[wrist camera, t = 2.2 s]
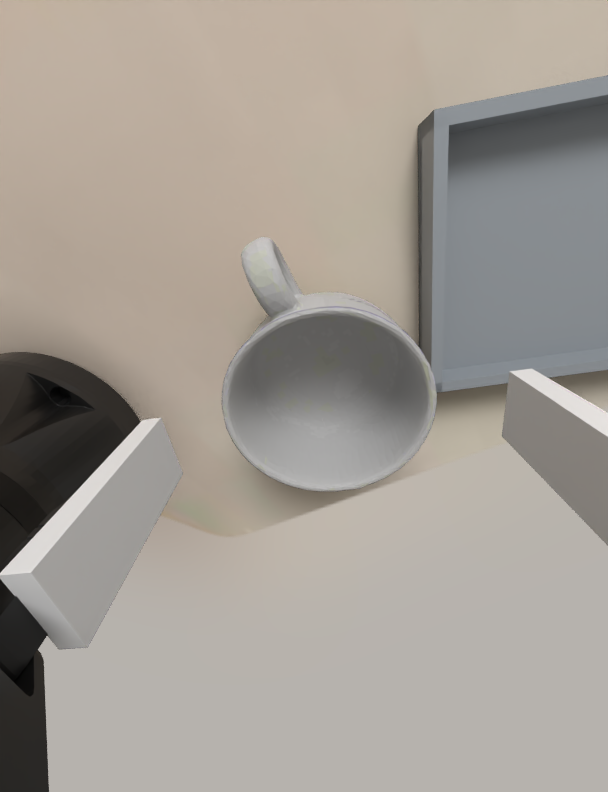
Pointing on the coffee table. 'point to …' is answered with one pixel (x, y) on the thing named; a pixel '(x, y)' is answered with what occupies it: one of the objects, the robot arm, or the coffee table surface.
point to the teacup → (324, 385)
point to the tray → (515, 235)
